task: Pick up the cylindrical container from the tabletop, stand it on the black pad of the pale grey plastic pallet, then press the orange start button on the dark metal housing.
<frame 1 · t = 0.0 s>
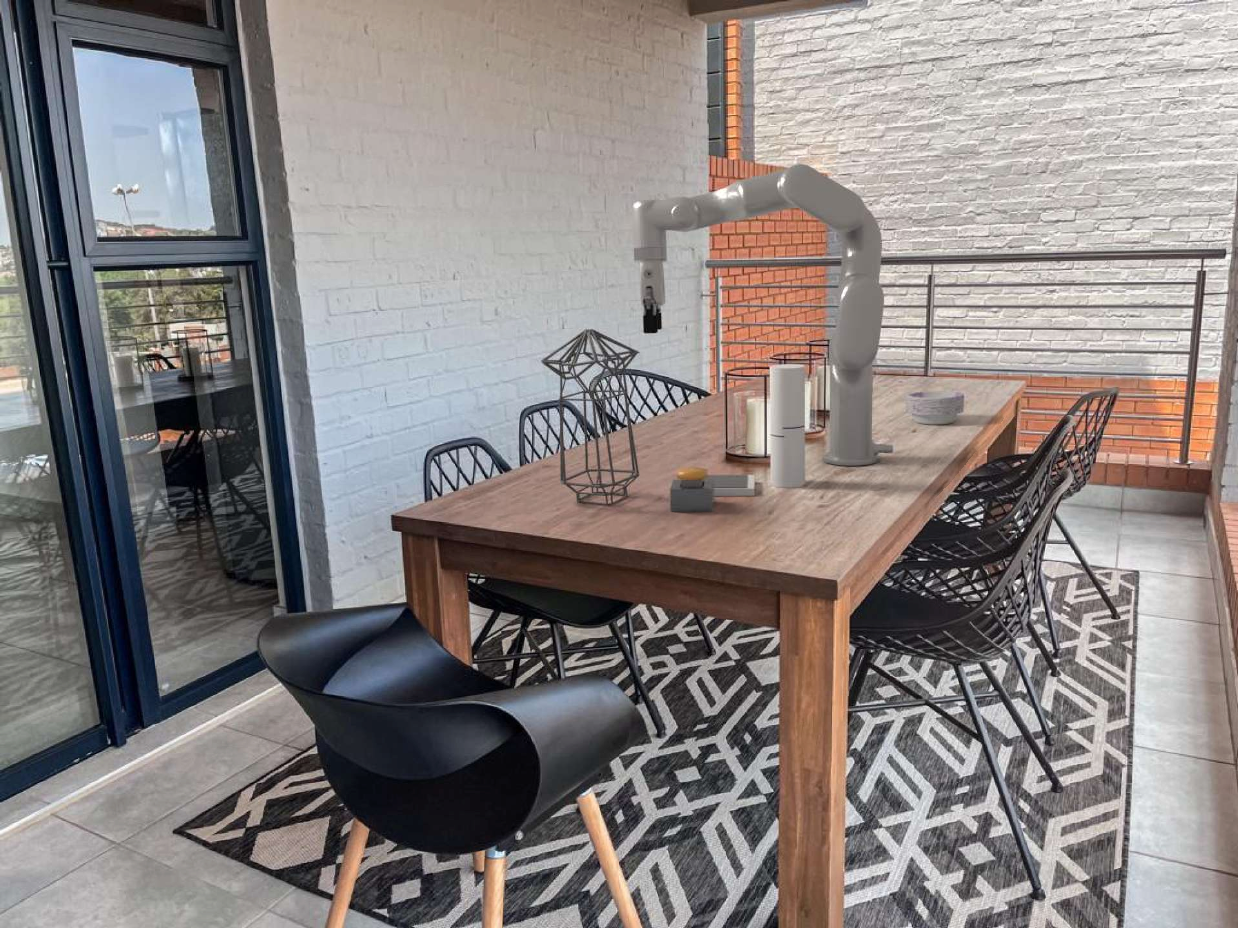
hand: (652, 331, 223), 31 cm above the table, fingers open, 9 cm apart
start button: (692, 483, 189), point 5 cm above the table, slide at 0.0 cm
geometric lantern: (597, 500, 199), on the table
pallet: (720, 488, 203), on the table
button housing: (692, 506, 190), on the table
paper bowls: (934, 423, 266), on the table
cylindrical container: (787, 484, 205), on the table
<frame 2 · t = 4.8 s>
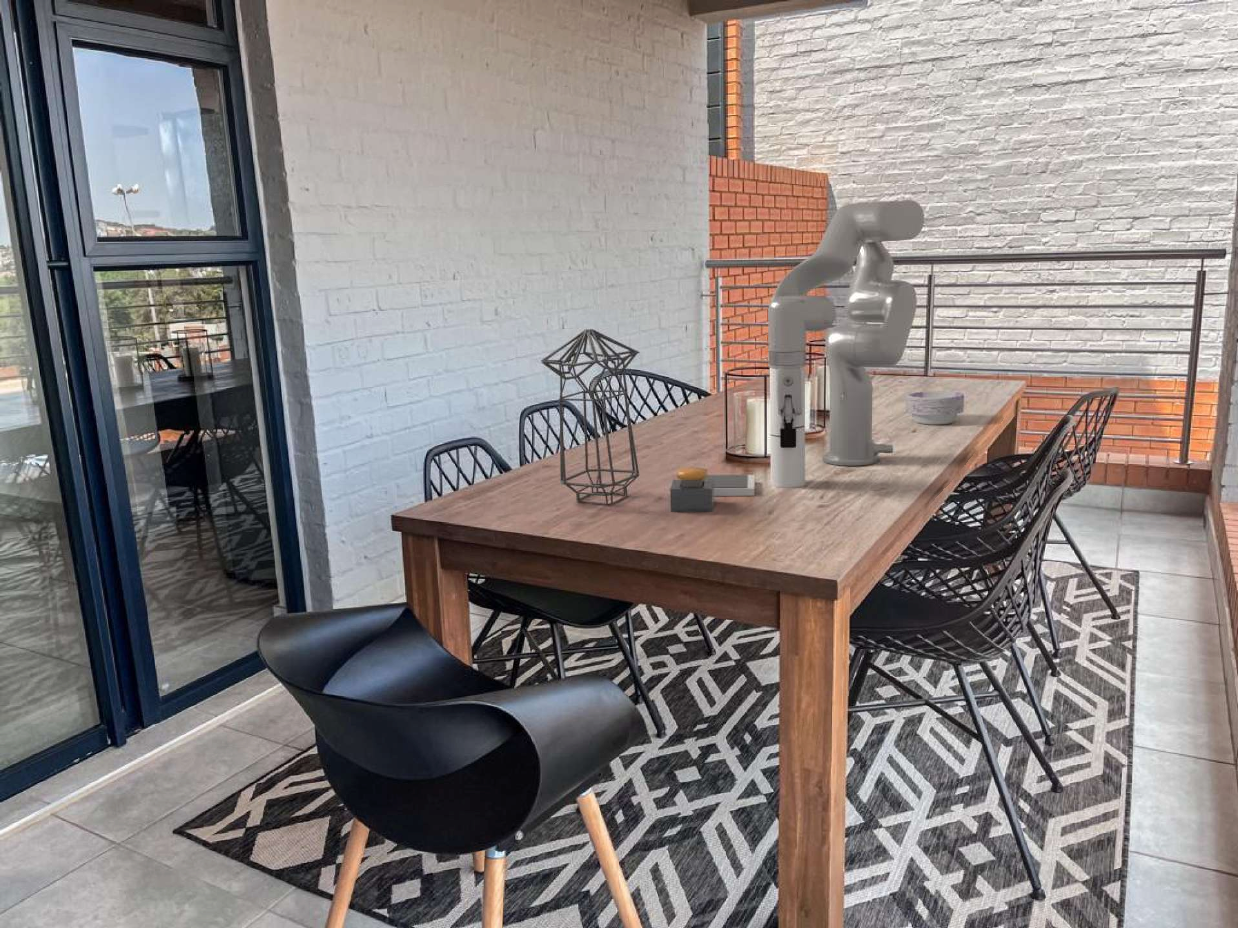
hand: (787, 443, 203), 9 cm above the table, fingers closed on cylindrical container, 7 cm apart
cylindrical container: (787, 484, 205), on the table, touching gripper
everything else where it was.
when the fingers open (12 cm above the table, at t = 11.4 s): cylindrical container drops 1 cm, resting on pallet.
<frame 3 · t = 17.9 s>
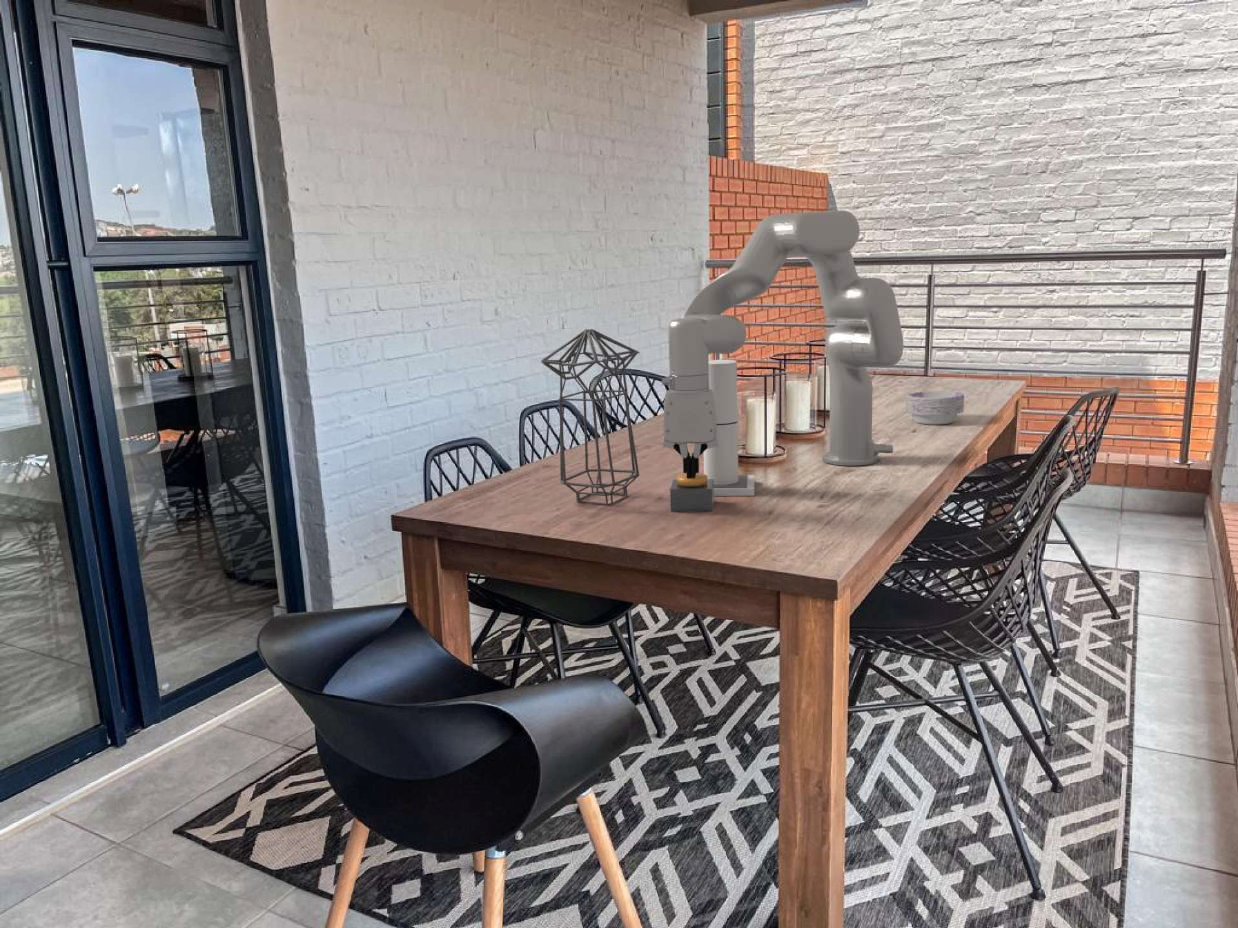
hand: (691, 476, 189), 6 cm above the table, fingers closed
start button: (692, 489, 189), point 3 cm above the table, slide at 1.2 cm, touching gripper
cylindrical container: (721, 481, 203), point 2 cm above the table, touching pallet
everything else where it was.
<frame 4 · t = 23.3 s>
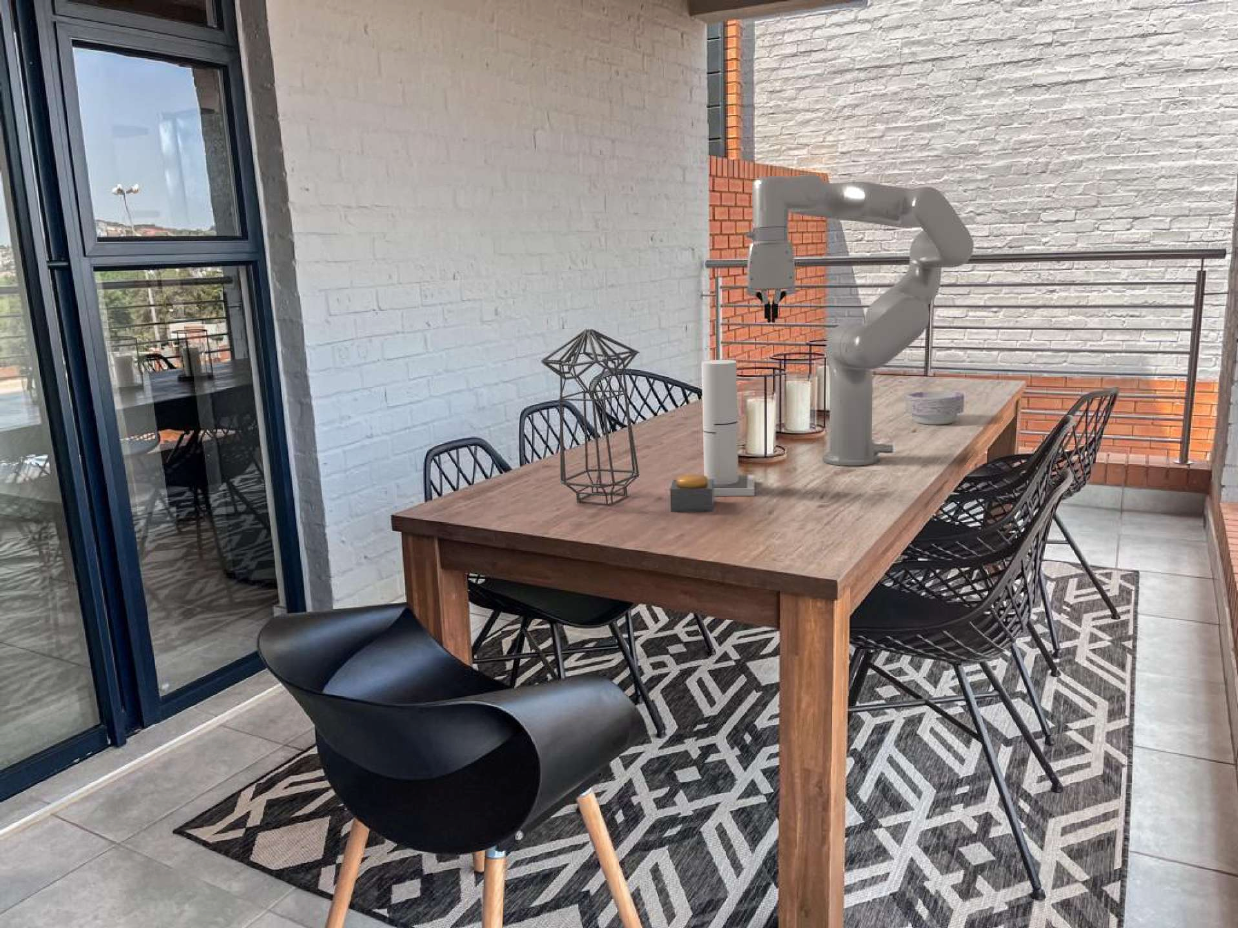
hand: (771, 322, 211), 33 cm above the table, fingers closed
start button: (692, 490, 189), point 3 cm above the table, slide at 1.5 cm
everything else where it was.
at the end: cylindrical container 0.2 cm off-centre on the pallet, point 1.5 cm above the pallet's base; cylindrical container tilted 0°; start button slide at 1.5 cm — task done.
